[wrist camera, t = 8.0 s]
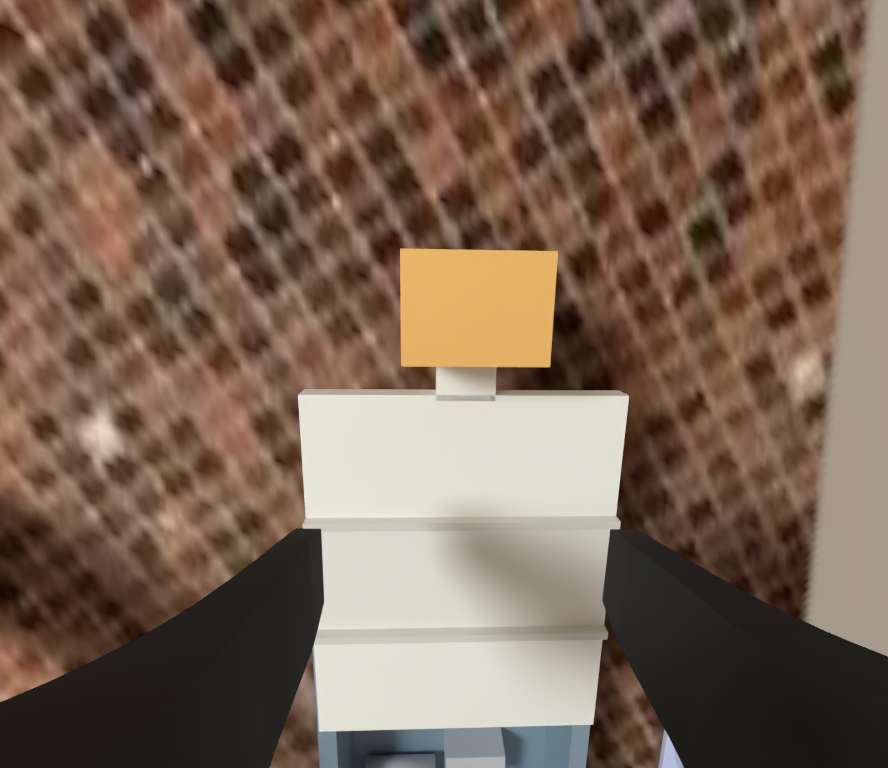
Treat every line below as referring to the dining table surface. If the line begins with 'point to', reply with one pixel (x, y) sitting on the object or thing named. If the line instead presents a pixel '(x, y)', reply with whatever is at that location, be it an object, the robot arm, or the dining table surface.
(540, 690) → the lid
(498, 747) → the tub
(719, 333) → the dining table surface
